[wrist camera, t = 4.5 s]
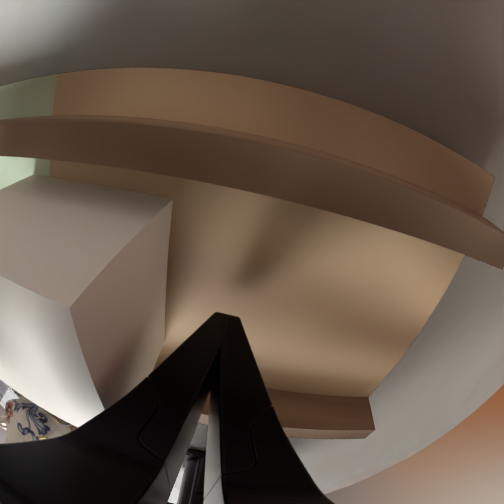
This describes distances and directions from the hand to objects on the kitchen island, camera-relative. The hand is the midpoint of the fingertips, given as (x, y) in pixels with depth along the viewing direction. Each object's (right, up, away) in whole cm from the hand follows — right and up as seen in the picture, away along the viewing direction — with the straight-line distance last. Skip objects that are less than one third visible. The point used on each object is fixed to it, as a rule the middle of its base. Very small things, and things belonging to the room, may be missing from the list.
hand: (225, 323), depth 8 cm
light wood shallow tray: (-8, +3, +3) cm, 9 cm away
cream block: (-5, +2, +1) cm, 5 cm away
